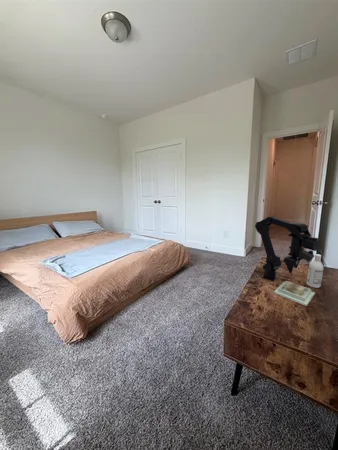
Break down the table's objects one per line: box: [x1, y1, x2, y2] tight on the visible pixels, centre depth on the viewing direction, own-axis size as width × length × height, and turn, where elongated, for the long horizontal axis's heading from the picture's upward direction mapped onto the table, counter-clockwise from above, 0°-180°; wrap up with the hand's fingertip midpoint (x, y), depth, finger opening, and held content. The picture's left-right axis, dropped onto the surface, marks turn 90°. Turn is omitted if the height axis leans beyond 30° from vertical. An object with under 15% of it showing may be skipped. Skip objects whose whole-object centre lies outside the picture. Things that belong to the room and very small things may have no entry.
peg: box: [285, 281, 305, 296], centre depth 108 cm, size 8×4×4 cm, turn 30°
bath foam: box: [306, 253, 324, 289], centre depth 115 cm, size 7×7×20 cm
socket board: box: [273, 280, 316, 307], centre depth 109 cm, size 16×16×3 cm
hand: (293, 270), depth 111 cm, fingers open, 9 cm apart
